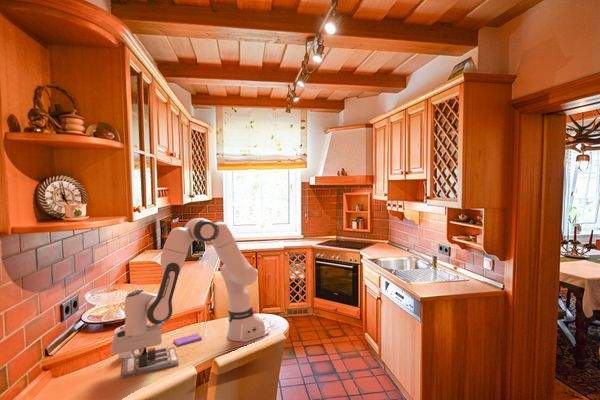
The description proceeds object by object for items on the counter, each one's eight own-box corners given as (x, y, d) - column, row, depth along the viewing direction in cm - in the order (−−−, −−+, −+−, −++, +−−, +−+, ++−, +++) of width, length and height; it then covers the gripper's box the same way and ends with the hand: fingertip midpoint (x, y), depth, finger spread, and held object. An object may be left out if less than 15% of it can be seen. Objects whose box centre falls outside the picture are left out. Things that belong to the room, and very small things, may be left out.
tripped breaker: (155, 357, 148) (154, 346, 148) (155, 359, 145) (155, 349, 145) (148, 358, 147) (147, 348, 147) (148, 361, 144) (147, 350, 144)
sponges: (201, 340, 169) (201, 337, 169) (177, 347, 161) (177, 344, 161) (197, 336, 175) (197, 332, 175) (173, 343, 167) (173, 339, 167)
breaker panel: (174, 350, 158) (174, 338, 158) (178, 364, 143) (177, 351, 143) (123, 361, 148) (123, 348, 148) (122, 378, 134) (121, 364, 134)
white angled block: (140, 352, 151) (130, 337, 151) (121, 364, 151) (111, 348, 151) (143, 348, 155) (134, 333, 155) (125, 360, 155) (116, 344, 154)
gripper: (161, 320, 151) (162, 349, 151) (110, 330, 142) (112, 361, 142) (162, 325, 145) (163, 355, 145) (109, 335, 136) (111, 367, 136)
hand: (137, 358), depth 143 cm, fingers closed
